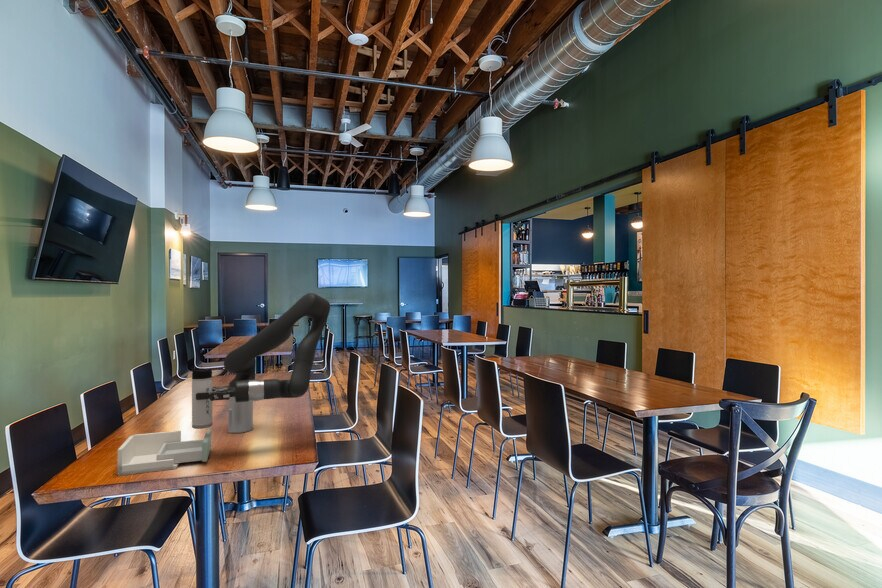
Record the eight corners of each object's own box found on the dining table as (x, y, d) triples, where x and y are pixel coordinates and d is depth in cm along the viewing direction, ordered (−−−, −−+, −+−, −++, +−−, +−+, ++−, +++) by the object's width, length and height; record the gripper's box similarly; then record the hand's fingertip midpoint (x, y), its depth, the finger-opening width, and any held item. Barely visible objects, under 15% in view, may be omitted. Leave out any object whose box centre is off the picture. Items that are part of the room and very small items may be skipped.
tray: (211, 446, 169) (211, 428, 169) (206, 461, 153) (206, 442, 153) (164, 451, 163) (164, 433, 163) (155, 467, 148) (155, 447, 148)
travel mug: (192, 425, 162) (191, 367, 162) (213, 423, 164) (213, 366, 164) (189, 430, 156) (189, 370, 156) (211, 427, 158) (211, 368, 159)
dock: (183, 452, 166) (184, 430, 166) (176, 468, 150) (176, 443, 150) (130, 458, 160) (131, 435, 160) (117, 475, 144) (117, 449, 144)
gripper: (249, 377, 173) (198, 380, 166) (249, 383, 159) (194, 387, 153) (249, 397, 173) (198, 401, 166) (250, 405, 159) (194, 410, 153)
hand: (197, 394), depth 160 cm, fingers closed on travel mug, 6 cm apart
